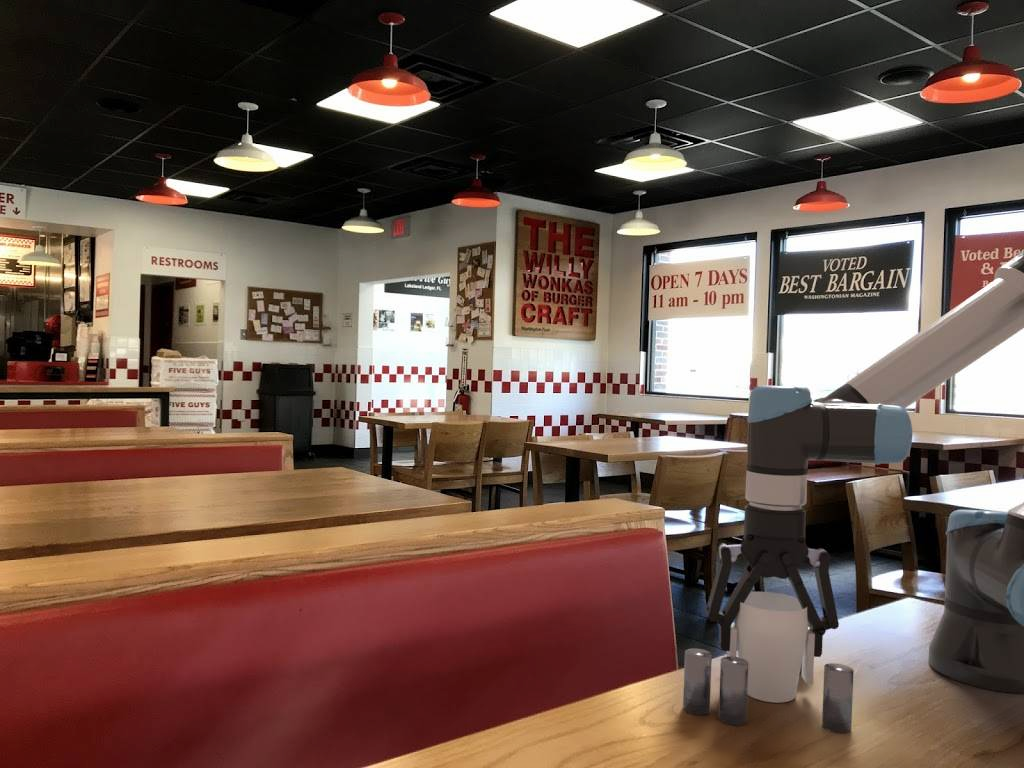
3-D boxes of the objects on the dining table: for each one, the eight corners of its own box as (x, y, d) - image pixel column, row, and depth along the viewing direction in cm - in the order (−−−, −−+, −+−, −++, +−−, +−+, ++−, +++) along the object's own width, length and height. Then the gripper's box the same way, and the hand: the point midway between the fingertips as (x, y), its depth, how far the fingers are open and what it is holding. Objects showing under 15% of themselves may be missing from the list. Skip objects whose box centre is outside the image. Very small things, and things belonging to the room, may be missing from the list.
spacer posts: (807, 666, 113) (809, 617, 113) (855, 734, 92) (857, 674, 92) (670, 657, 115) (672, 609, 115) (686, 721, 94) (688, 663, 94)
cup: (810, 711, 98) (814, 614, 98) (734, 703, 100) (738, 608, 100) (799, 683, 107) (802, 594, 107) (729, 676, 109) (733, 588, 109)
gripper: (853, 504, 106) (846, 672, 106) (686, 496, 108) (680, 661, 108) (872, 514, 98) (865, 695, 99) (693, 505, 100) (686, 682, 101)
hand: (768, 677), depth 104 cm, fingers closed on cup, 9 cm apart
